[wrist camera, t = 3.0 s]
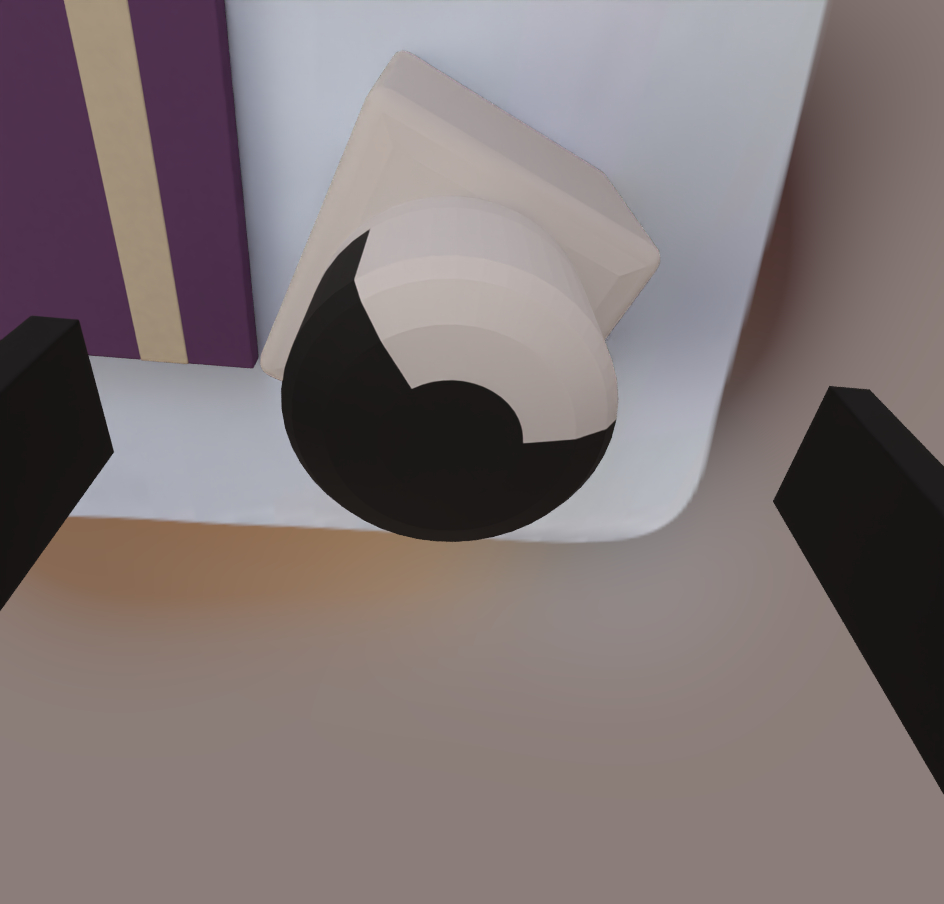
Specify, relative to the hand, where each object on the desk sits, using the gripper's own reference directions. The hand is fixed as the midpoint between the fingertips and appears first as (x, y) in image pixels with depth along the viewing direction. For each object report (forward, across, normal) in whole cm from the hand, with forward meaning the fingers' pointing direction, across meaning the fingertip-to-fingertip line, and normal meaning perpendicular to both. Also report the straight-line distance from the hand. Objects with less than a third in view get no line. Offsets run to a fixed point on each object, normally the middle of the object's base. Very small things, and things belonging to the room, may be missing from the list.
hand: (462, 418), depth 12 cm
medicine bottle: (+11, 0, 0) cm, 11 cm away
